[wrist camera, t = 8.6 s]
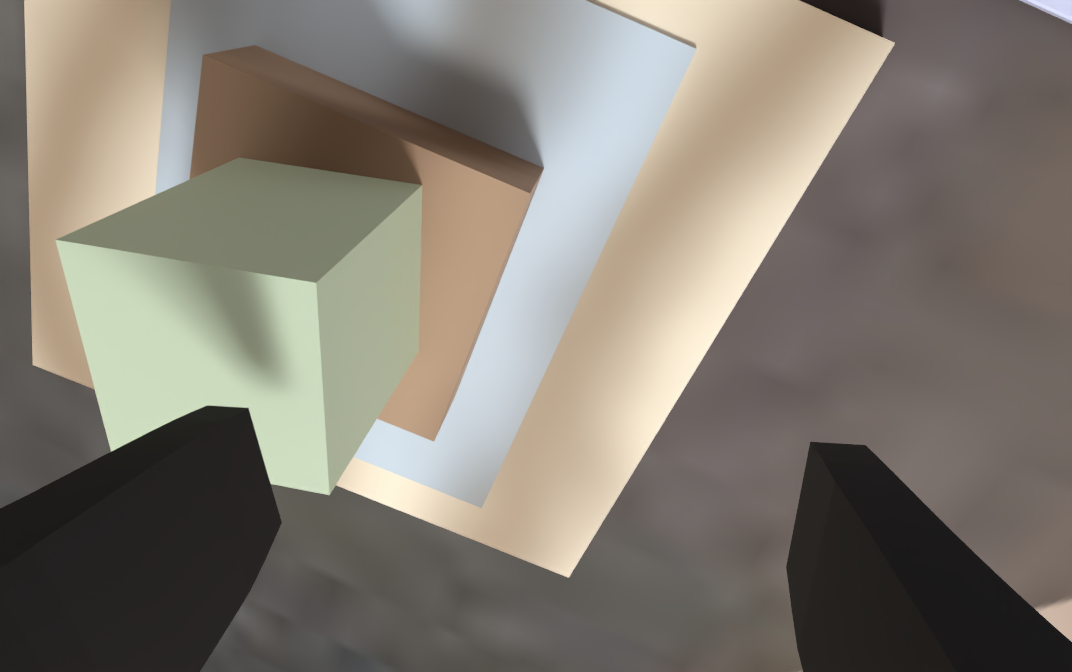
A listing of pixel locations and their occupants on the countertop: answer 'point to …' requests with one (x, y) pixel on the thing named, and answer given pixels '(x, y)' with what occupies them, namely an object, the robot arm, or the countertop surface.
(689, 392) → the countertop surface
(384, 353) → the green block
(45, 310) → the build board
